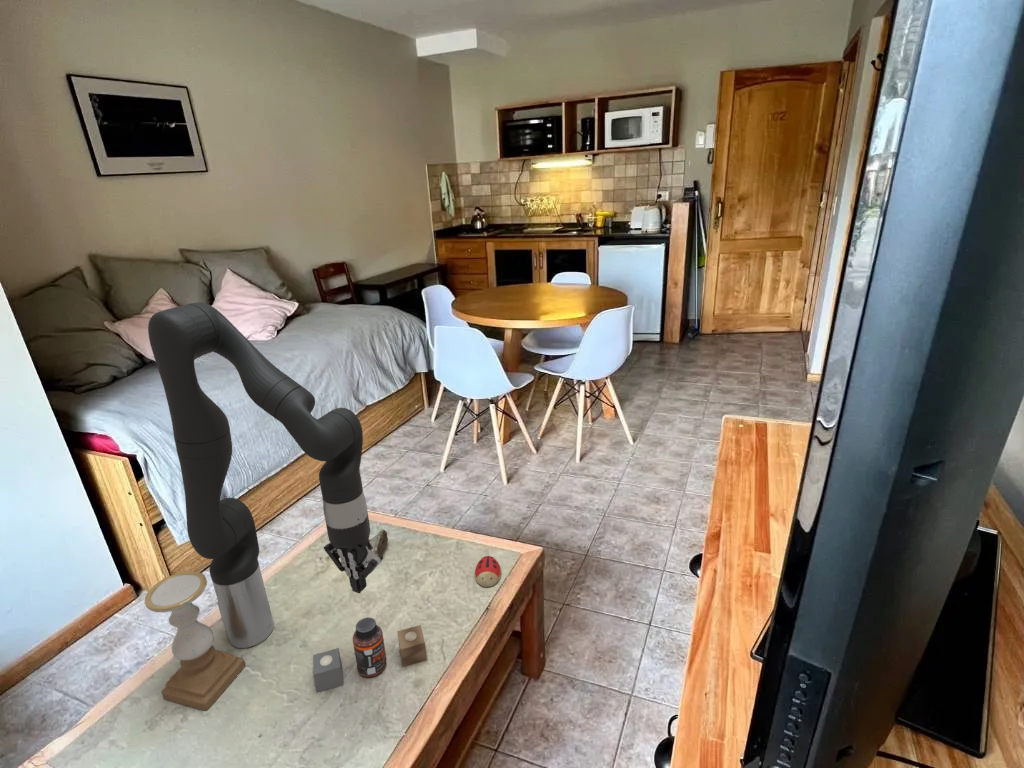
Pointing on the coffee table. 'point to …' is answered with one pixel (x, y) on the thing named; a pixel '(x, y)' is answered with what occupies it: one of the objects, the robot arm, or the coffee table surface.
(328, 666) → the charcoal dotted block
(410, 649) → the walnut dotted block
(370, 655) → the supplement bottle
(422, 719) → the coffee table surface
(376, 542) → the rock sample
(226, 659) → the candle holder
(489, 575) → the ladybug figurine
